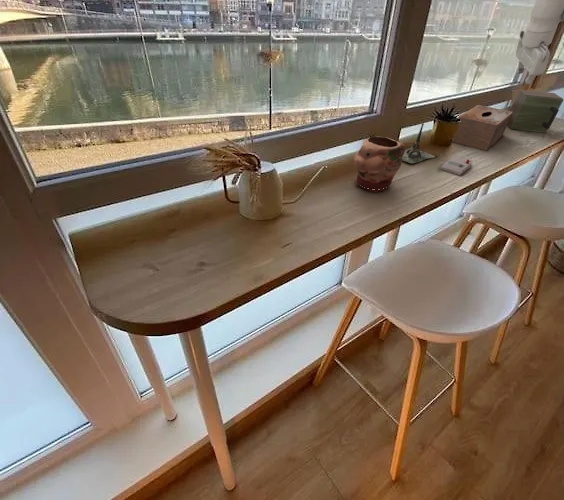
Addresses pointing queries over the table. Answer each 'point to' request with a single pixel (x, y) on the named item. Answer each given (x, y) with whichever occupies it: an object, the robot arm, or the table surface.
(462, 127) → the tissue box cover
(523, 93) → the green door cabinet
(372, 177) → the decorative planter
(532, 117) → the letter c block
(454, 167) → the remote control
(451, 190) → the table surface
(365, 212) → the table surface
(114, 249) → the table surface
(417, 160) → the eiffel tower figurine
